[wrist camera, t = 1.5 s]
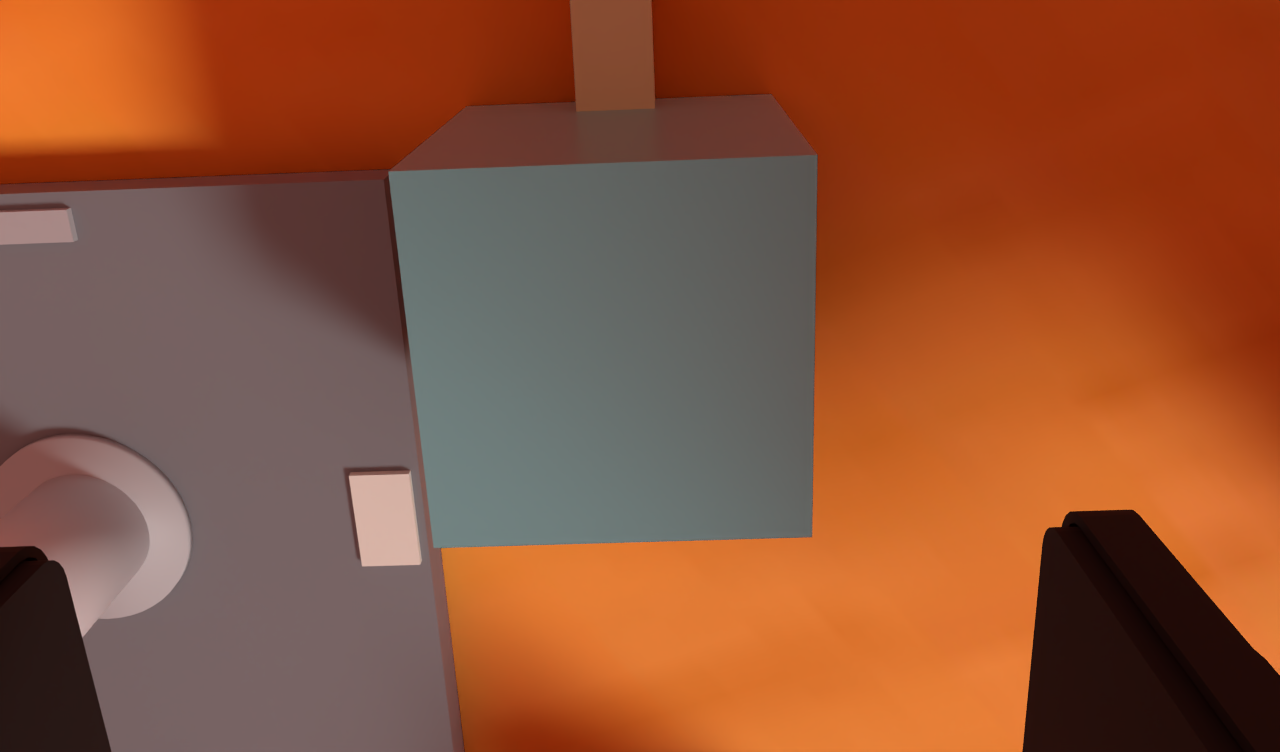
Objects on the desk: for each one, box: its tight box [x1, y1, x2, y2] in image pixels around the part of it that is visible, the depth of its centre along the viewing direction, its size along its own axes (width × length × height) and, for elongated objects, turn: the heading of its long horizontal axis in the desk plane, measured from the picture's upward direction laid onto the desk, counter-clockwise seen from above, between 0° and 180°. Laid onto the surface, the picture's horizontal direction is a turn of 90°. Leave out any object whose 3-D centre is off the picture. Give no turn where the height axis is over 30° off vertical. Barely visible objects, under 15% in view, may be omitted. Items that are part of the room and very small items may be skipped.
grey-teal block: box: [388, 0, 818, 548], centre depth 22 cm, size 12×7×8 cm, turn 2°
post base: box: [0, 169, 465, 752], centre depth 25 cm, size 16×16×7 cm
